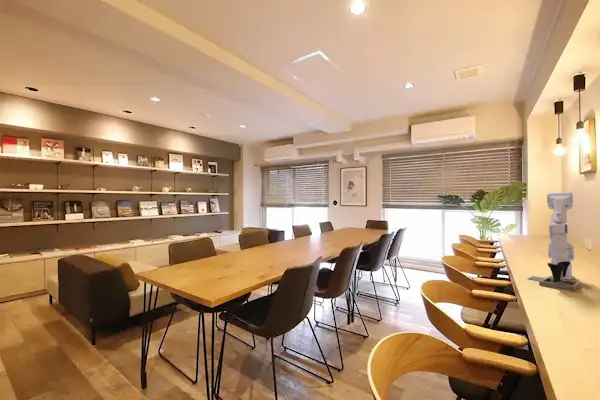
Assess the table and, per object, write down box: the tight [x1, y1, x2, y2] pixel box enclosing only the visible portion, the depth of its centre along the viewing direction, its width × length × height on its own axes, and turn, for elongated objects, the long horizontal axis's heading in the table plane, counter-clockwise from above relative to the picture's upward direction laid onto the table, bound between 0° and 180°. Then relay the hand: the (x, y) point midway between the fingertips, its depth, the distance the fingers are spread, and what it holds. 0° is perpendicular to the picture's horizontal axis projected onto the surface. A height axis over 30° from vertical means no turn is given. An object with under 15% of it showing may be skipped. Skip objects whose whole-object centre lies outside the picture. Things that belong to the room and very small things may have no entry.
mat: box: [527, 275, 545, 282], centre depth 143 cm, size 8×7×1 cm
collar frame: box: [538, 277, 582, 292], centre depth 132 cm, size 11×12×2 cm
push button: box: [551, 264, 566, 285], centre depth 132 cm, size 7×5×10 cm
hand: (559, 278), depth 132 cm, fingers open, 7 cm apart
